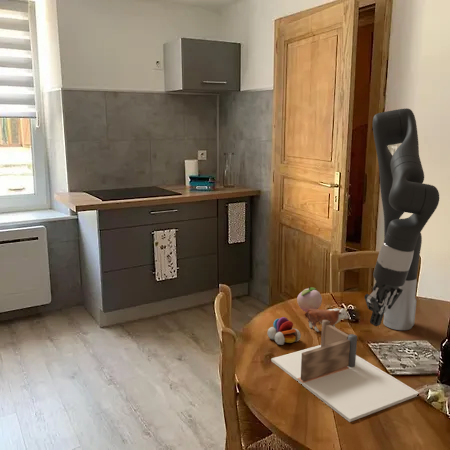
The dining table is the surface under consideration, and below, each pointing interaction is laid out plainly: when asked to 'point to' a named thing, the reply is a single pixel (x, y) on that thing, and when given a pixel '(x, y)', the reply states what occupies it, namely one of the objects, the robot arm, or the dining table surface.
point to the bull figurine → (325, 316)
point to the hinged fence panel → (325, 359)
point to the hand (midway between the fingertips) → (374, 324)
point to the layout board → (348, 380)
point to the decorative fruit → (309, 299)
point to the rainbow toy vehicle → (283, 331)
